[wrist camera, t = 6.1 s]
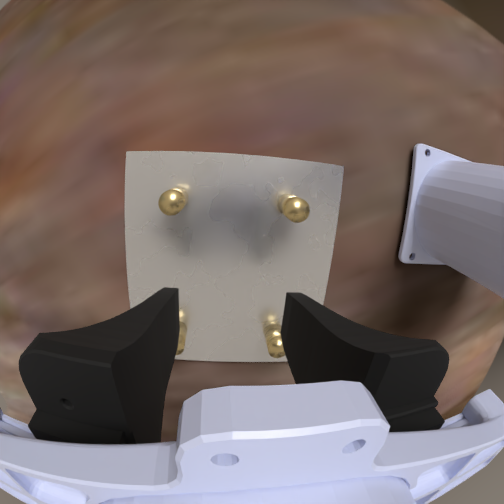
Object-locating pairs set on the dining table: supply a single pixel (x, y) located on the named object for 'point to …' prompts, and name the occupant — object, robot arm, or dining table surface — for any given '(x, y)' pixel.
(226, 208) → the plate with brass knobs
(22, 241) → the dining table surface
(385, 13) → the dining table surface
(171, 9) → the dining table surface
